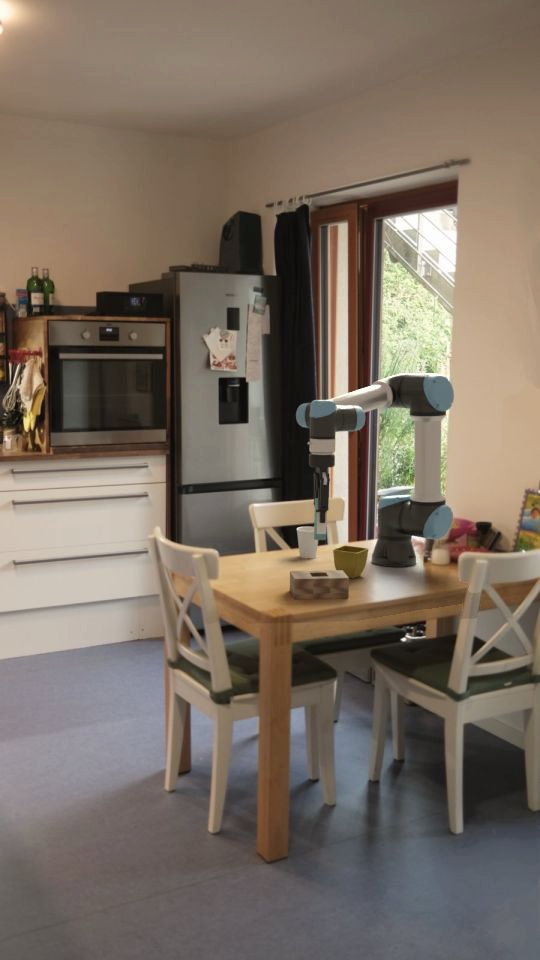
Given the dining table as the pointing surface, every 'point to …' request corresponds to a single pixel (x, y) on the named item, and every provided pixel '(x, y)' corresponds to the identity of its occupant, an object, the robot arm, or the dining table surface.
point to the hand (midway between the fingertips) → (320, 532)
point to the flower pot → (350, 560)
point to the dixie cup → (307, 542)
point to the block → (319, 584)
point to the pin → (316, 536)
